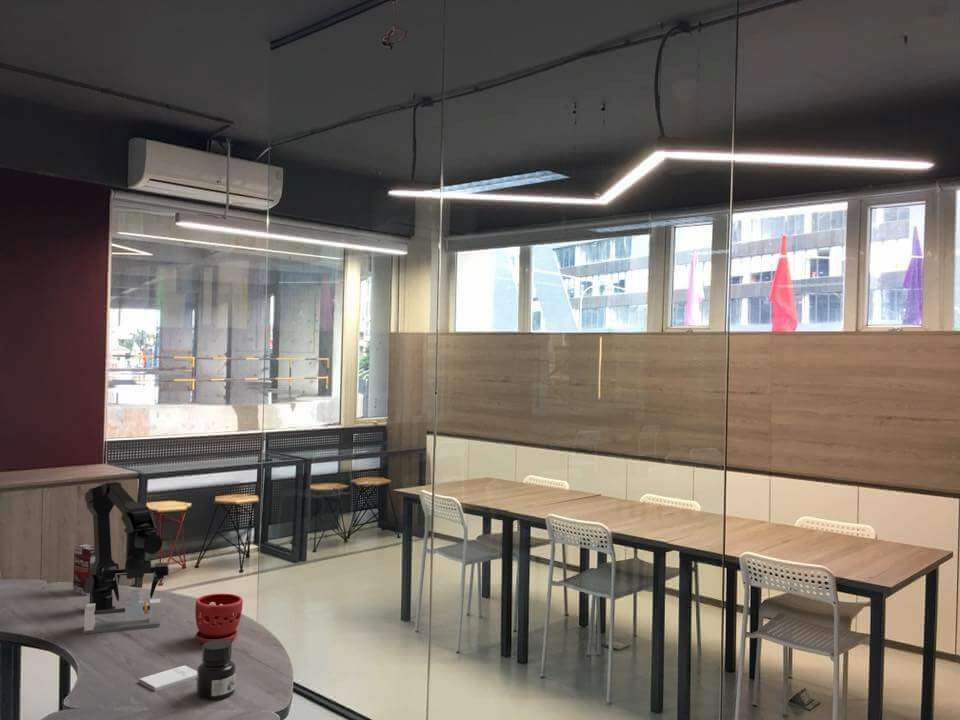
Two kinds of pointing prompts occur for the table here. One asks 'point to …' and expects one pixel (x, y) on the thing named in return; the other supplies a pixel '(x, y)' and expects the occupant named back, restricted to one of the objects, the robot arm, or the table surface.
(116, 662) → the table surface
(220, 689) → the ink bottle
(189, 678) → the external hard drive
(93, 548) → the supplement box
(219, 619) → the plant pot
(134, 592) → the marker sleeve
